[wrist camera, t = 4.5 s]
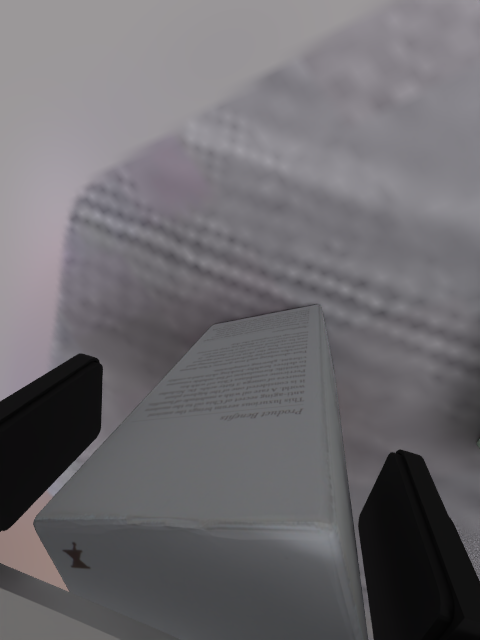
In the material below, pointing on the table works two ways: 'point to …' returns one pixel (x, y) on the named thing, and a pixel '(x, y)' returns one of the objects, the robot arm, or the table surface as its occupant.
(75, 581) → the skincare box
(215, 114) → the table surface
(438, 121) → the table surface
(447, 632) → the robot arm
